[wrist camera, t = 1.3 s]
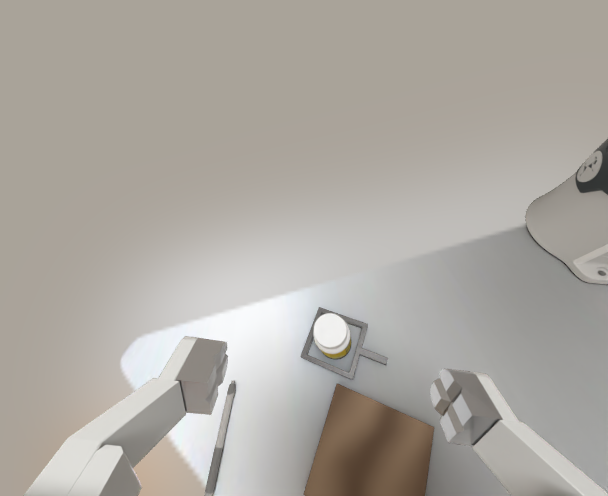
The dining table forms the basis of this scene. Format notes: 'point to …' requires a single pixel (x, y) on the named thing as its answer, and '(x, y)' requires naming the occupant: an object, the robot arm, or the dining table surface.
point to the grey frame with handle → (358, 350)
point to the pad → (369, 450)
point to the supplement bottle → (332, 336)
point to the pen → (220, 442)
